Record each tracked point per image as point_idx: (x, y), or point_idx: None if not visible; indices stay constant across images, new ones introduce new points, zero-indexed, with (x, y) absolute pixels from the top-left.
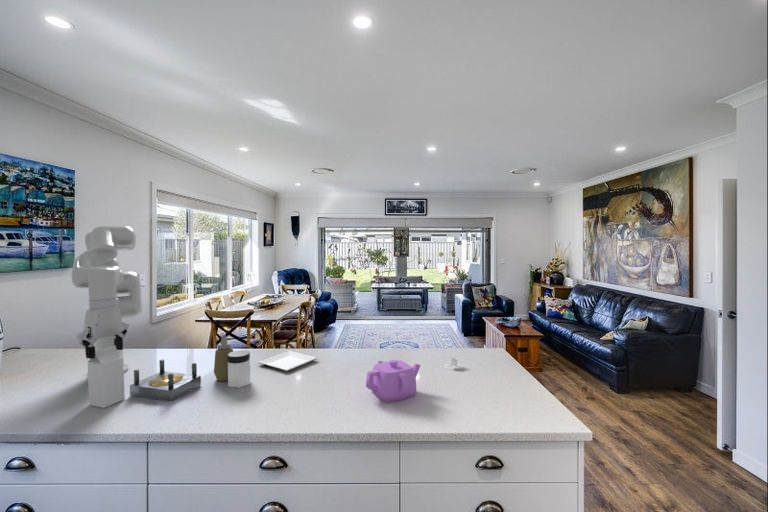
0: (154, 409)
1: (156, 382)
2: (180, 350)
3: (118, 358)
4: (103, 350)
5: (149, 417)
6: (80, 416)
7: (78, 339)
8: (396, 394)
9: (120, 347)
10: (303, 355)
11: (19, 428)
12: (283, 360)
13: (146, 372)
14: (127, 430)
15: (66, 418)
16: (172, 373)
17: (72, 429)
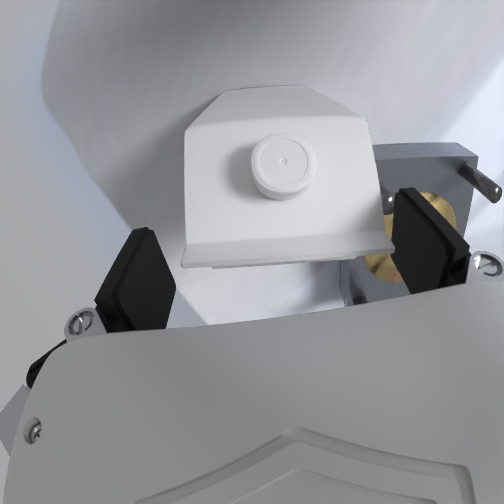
0: (292, 288)
1: (389, 234)
2: None
3: (327, 260)
4: (270, 253)
5: (258, 309)
6: (167, 157)
7: (18, 404)
8: None
9: (397, 266)
10: None
11: (55, 99)
12: None
13: (488, 27)
14: (202, 317)
15: (139, 135)
16: (463, 208)
17: (130, 221)
